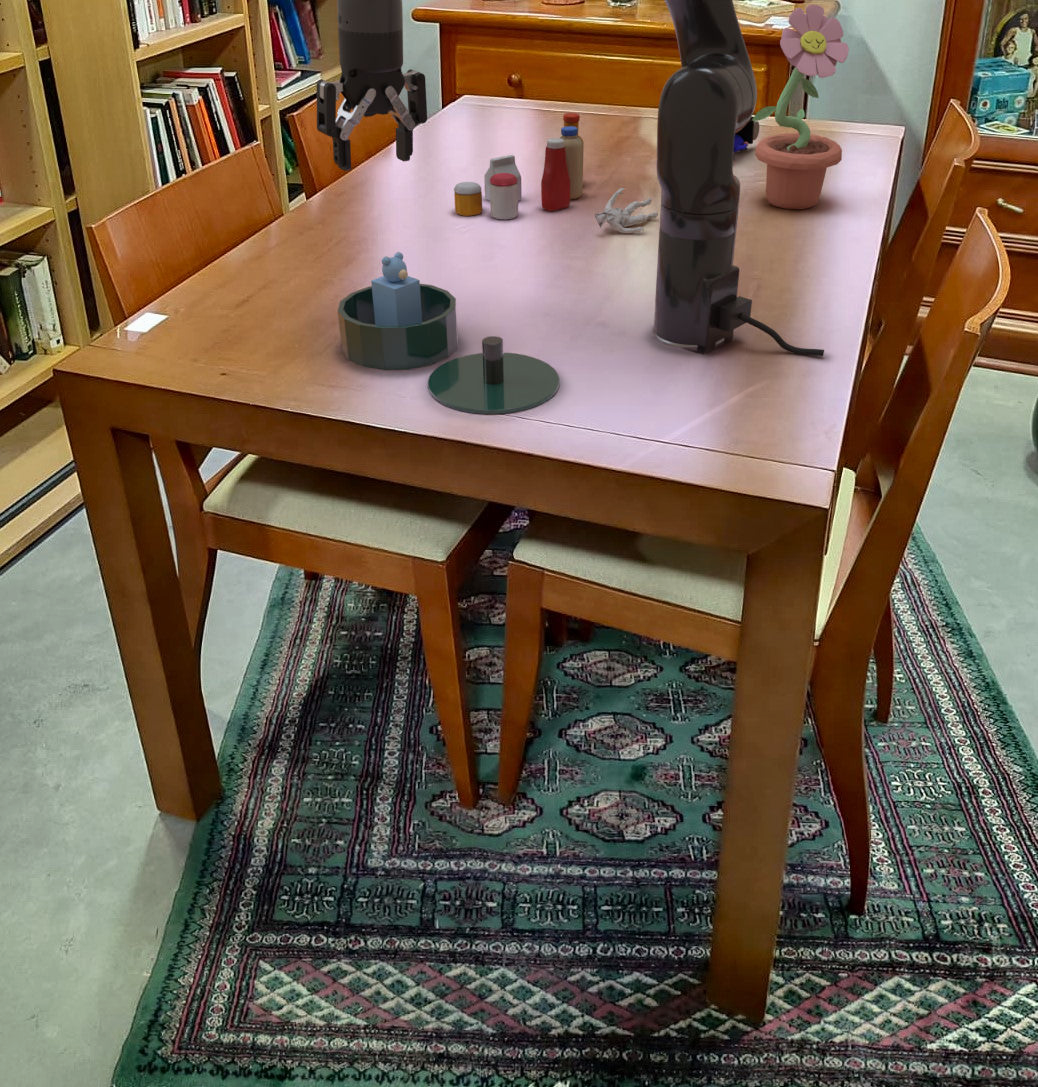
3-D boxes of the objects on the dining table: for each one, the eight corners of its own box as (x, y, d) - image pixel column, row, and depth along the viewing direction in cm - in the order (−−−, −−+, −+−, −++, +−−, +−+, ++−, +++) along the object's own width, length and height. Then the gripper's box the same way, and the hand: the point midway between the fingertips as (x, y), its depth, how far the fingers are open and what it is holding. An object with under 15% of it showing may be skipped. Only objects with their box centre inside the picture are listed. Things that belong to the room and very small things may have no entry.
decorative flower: (767, 220, 181) (790, 17, 164) (730, 195, 192) (747, 2, 175) (850, 211, 184) (881, 11, 167) (809, 187, 195) (834, -4, 178)
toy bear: (424, 345, 142) (417, 254, 135) (400, 355, 140) (392, 263, 133) (400, 335, 144) (393, 246, 138) (377, 345, 142) (368, 255, 135)
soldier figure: (667, 230, 181) (628, 226, 172) (644, 246, 184) (605, 243, 174) (646, 188, 182) (607, 181, 172) (624, 205, 185) (584, 200, 175)
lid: (586, 385, 133) (587, 337, 130) (494, 432, 124) (493, 382, 120) (493, 349, 142) (491, 303, 138) (401, 390, 133) (397, 342, 129)
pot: (481, 347, 142) (479, 302, 139) (395, 385, 134) (391, 338, 130) (405, 317, 151) (402, 274, 147) (320, 351, 142) (314, 306, 139)
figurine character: (724, 152, 219) (695, 162, 208) (729, 110, 216) (700, 118, 204) (757, 156, 216) (729, 167, 205) (763, 114, 213) (735, 123, 201)
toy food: (571, 179, 201) (572, 109, 194) (615, 197, 192) (618, 124, 185) (443, 208, 189) (439, 134, 182) (484, 228, 180) (482, 151, 173)
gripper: (332, 34, 125) (339, 181, 135) (439, 24, 133) (438, 164, 142) (300, 22, 130) (308, 164, 139) (404, 13, 138) (406, 149, 147)
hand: (374, 164), depth 141 cm, fingers open, 8 cm apart
